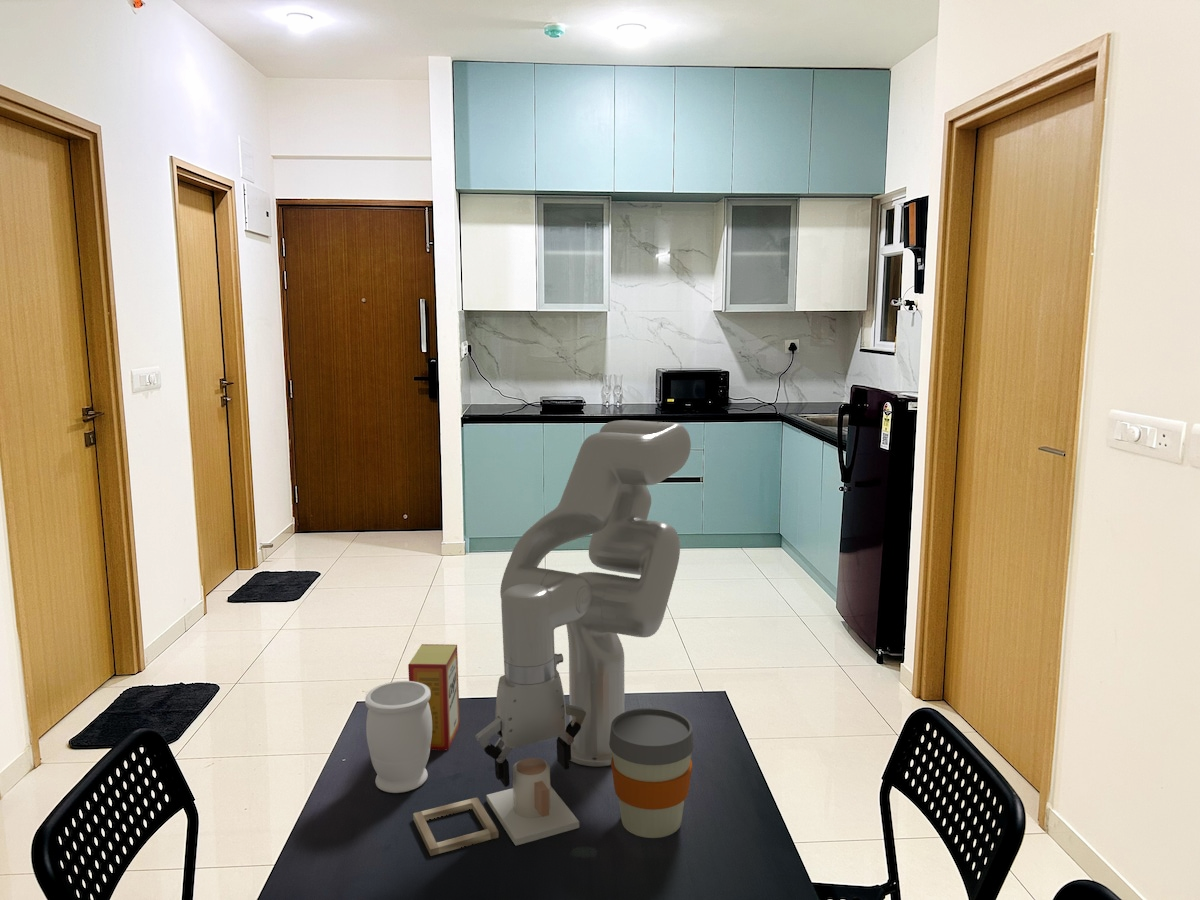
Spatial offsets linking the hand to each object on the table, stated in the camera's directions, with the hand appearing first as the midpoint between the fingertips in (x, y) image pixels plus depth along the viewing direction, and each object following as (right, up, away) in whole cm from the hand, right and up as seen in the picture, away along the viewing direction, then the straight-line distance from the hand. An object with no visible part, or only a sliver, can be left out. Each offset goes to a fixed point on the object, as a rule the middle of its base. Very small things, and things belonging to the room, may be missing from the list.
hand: (534, 773), depth 131 cm
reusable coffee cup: (+18, -7, -2) cm, 19 cm away
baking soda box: (-19, -3, +24) cm, 31 cm away
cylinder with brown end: (0, -5, -1) cm, 5 cm away
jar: (-22, -5, +10) cm, 25 cm away
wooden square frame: (-11, -7, -4) cm, 14 cm away
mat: (0, -6, 0) cm, 6 cm away
